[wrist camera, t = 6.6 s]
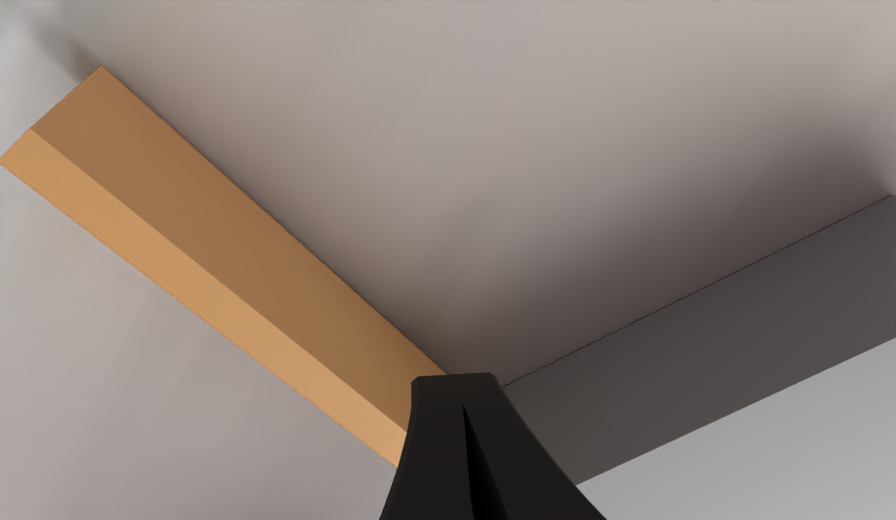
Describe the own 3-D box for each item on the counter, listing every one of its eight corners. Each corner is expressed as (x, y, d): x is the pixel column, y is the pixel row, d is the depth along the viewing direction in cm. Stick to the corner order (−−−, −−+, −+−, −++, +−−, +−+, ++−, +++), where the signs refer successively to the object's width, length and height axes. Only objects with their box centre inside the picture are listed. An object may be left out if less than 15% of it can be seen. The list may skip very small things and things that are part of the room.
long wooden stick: (462, 388, 24) (483, 494, 20) (438, 404, 24) (455, 512, 20) (101, 64, 18) (29, 127, 14) (74, 91, 18) (-4, 161, 14)
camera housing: (597, 589, 30) (643, 730, 26) (464, 406, 25) (491, 544, 20) (989, 418, 28) (1123, 539, 23) (943, 169, 22) (1109, 261, 17)
